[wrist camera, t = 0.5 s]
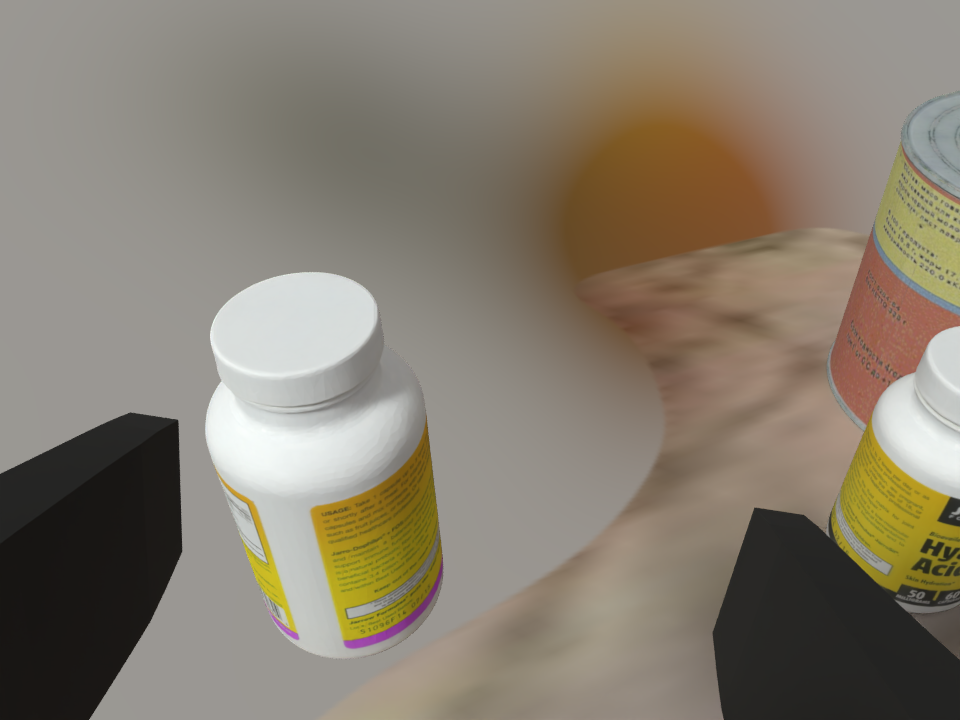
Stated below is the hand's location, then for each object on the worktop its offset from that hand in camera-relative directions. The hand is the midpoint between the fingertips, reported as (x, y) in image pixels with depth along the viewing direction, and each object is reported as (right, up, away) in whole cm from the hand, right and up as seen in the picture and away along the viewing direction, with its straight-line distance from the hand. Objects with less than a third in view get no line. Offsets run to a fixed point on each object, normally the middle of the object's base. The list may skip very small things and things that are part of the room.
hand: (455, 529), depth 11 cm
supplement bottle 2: (+16, -5, +22) cm, 28 cm away
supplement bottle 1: (-4, -6, +21) cm, 23 cm away
